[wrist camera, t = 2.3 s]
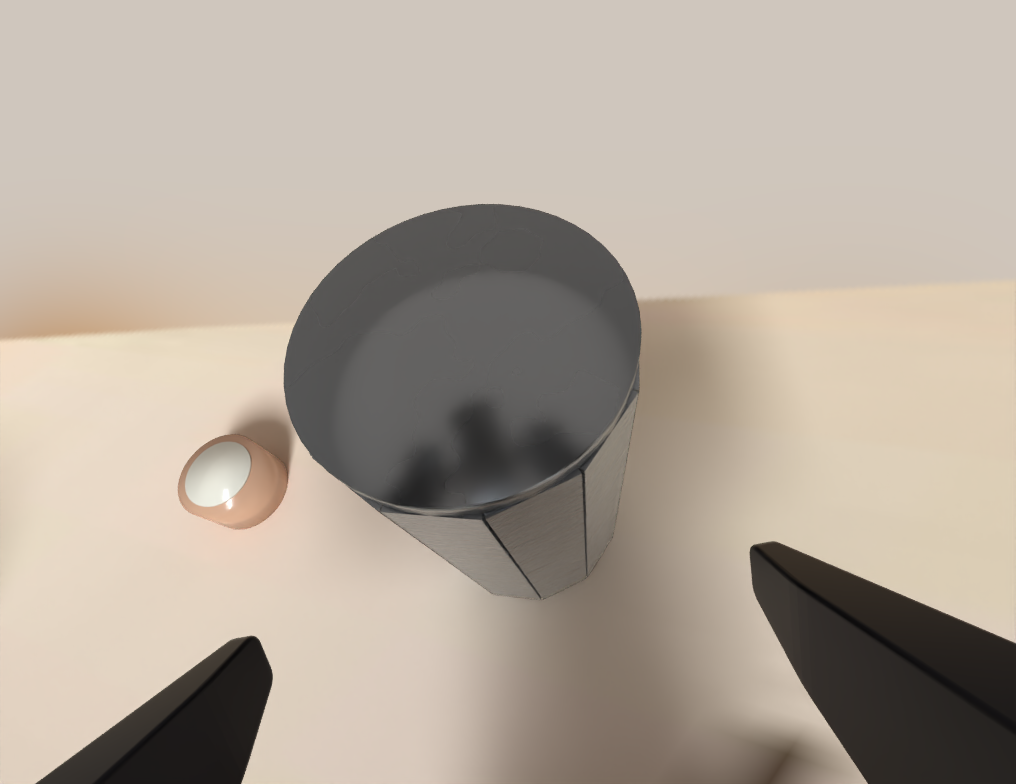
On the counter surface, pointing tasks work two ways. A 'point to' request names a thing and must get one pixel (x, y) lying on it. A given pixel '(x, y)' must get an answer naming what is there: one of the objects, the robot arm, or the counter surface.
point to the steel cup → (476, 389)
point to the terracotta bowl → (232, 482)
